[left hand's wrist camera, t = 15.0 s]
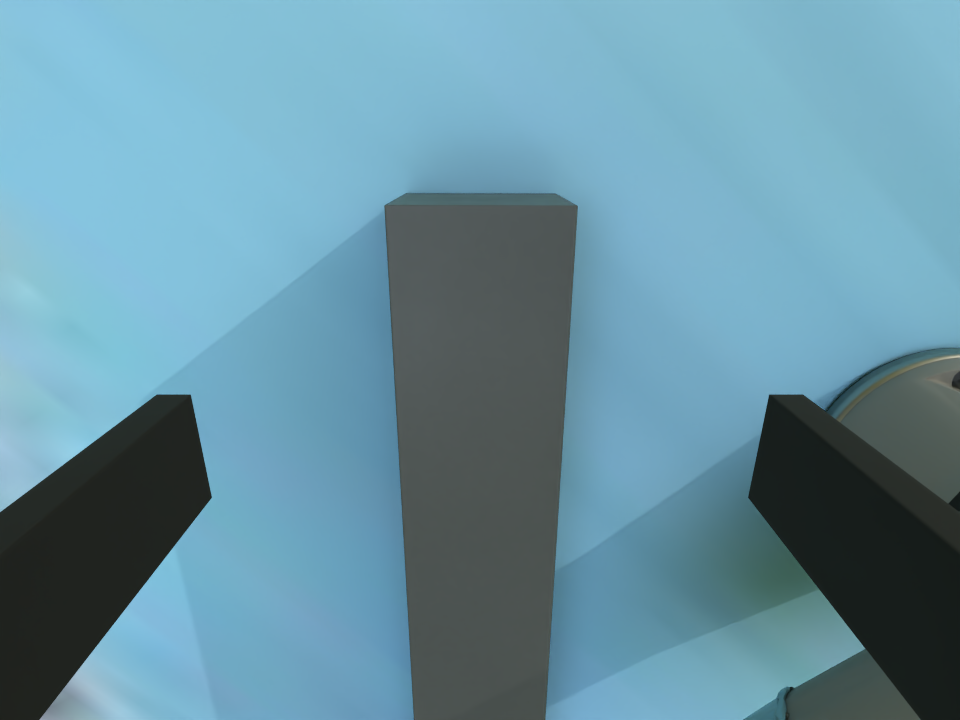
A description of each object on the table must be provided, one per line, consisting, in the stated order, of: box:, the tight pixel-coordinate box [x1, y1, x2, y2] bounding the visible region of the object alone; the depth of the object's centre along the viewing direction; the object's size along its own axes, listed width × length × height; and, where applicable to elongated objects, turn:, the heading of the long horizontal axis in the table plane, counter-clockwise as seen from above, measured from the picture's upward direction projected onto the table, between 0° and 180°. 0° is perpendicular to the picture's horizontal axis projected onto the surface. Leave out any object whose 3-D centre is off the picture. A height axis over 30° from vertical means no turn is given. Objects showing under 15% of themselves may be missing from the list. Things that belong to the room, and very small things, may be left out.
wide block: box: [385, 193, 578, 720], centre depth 41 cm, size 74×9×7 cm, turn 0°
